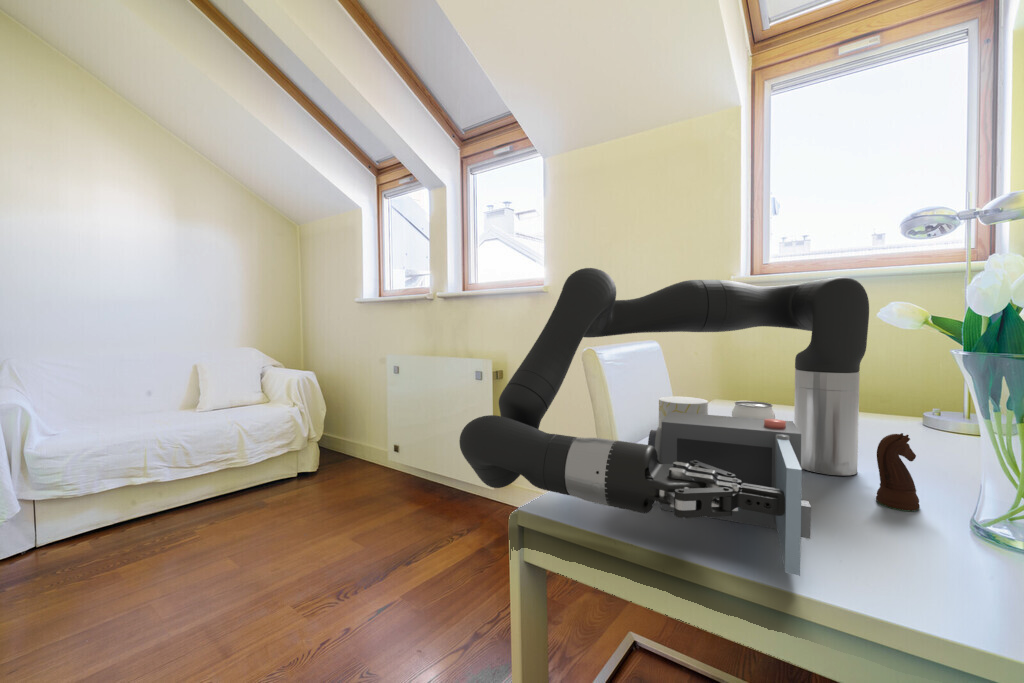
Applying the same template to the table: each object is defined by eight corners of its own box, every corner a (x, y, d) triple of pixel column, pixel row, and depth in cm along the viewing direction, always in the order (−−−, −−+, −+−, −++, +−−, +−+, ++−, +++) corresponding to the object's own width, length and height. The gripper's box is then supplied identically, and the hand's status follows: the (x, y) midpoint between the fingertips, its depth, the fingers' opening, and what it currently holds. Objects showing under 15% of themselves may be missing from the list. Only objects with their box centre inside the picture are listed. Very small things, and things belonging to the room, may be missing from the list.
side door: (783, 575, 42) (785, 464, 42) (773, 519, 54) (775, 433, 54) (810, 581, 41) (812, 467, 41) (794, 523, 53) (795, 435, 53)
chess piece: (929, 511, 59) (931, 438, 59) (890, 511, 59) (891, 437, 59) (900, 498, 64) (901, 430, 64) (864, 498, 64) (865, 429, 64)
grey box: (654, 487, 68) (654, 405, 68) (791, 508, 60) (792, 415, 60) (645, 506, 61) (646, 414, 61) (799, 532, 53) (801, 427, 53)
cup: (649, 466, 79) (650, 399, 79) (671, 457, 84) (672, 395, 84) (694, 477, 73) (695, 405, 73) (715, 467, 78) (715, 400, 78)
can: (780, 481, 71) (782, 407, 71) (737, 479, 72) (738, 406, 72) (766, 469, 77) (767, 401, 77) (726, 467, 78) (727, 400, 78)
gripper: (594, 454, 46) (789, 485, 38) (627, 430, 58) (782, 449, 49) (592, 525, 46) (786, 572, 38) (625, 487, 58) (780, 516, 49)
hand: (783, 502), depth 44 cm, fingers closed
